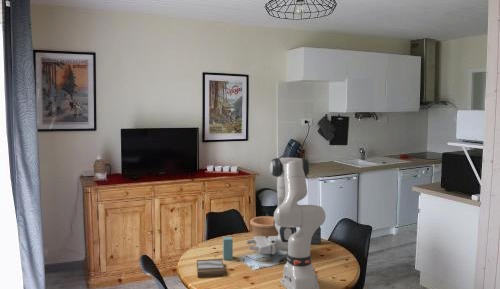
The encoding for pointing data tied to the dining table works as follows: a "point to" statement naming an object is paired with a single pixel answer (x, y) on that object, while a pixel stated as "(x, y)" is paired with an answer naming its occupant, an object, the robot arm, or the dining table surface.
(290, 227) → the robot arm
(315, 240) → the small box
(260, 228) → the pottery
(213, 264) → the base plinth
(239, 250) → the dining table surface
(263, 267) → the dining table surface
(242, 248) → the dining table surface
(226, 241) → the teal block
